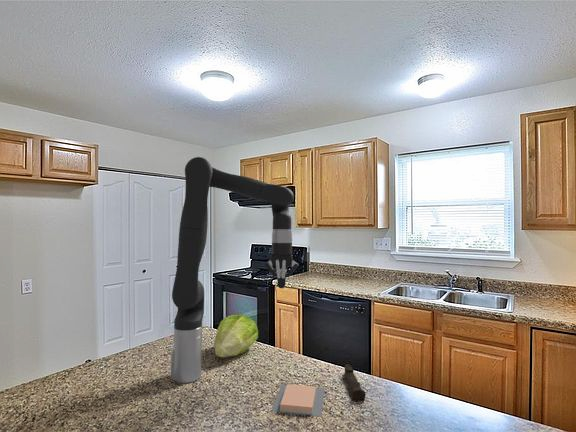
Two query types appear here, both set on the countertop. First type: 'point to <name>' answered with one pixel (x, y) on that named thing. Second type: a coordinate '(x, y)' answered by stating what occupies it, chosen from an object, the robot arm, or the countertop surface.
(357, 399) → the hand tool
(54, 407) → the countertop surface
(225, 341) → the lettuce
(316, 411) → the mat
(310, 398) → the tile
